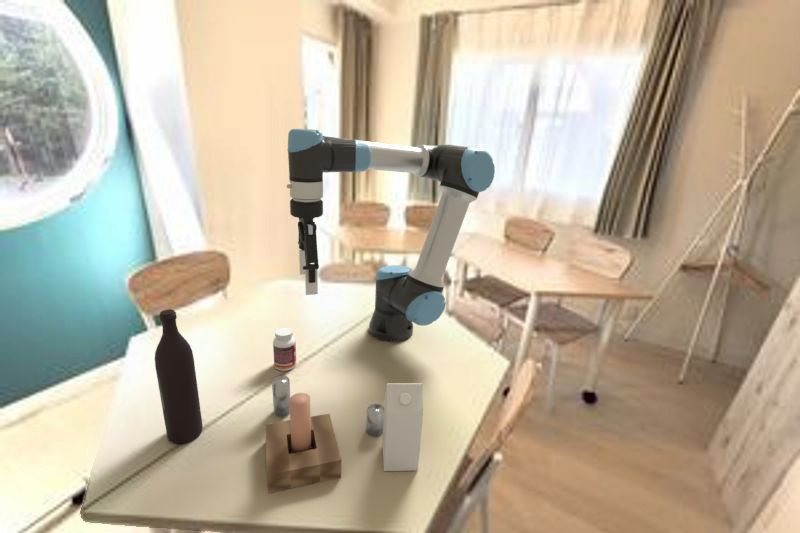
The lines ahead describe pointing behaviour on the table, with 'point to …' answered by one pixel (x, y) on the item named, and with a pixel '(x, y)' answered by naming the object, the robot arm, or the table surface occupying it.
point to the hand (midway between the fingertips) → (308, 283)
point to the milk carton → (402, 426)
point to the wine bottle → (177, 383)
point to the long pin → (300, 422)
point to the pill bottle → (284, 349)
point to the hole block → (301, 455)
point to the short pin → (375, 420)
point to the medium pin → (281, 396)
